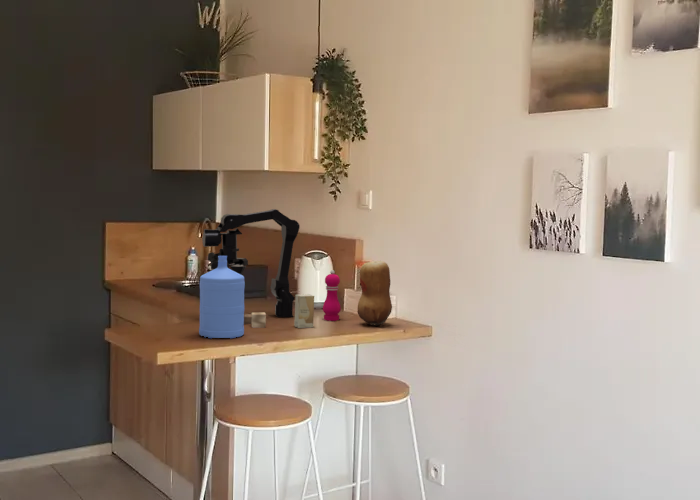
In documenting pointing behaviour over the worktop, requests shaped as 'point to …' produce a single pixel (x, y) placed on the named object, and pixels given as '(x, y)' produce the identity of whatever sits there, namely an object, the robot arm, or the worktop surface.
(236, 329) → the water jug
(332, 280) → the pepper mill
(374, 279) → the butternut squash
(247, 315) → the beige flat block
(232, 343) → the worktop surface
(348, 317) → the worktop surface
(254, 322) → the oak cube
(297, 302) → the skincare box
